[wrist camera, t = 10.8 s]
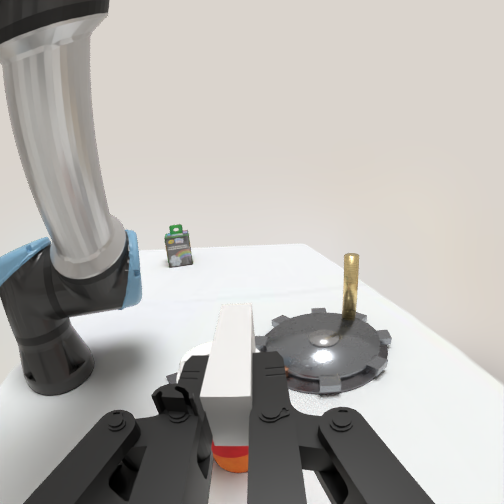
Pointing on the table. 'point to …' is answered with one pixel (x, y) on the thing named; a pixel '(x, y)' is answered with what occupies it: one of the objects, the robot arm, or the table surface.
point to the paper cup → (223, 455)
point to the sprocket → (328, 340)
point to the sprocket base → (345, 384)
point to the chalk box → (178, 247)
